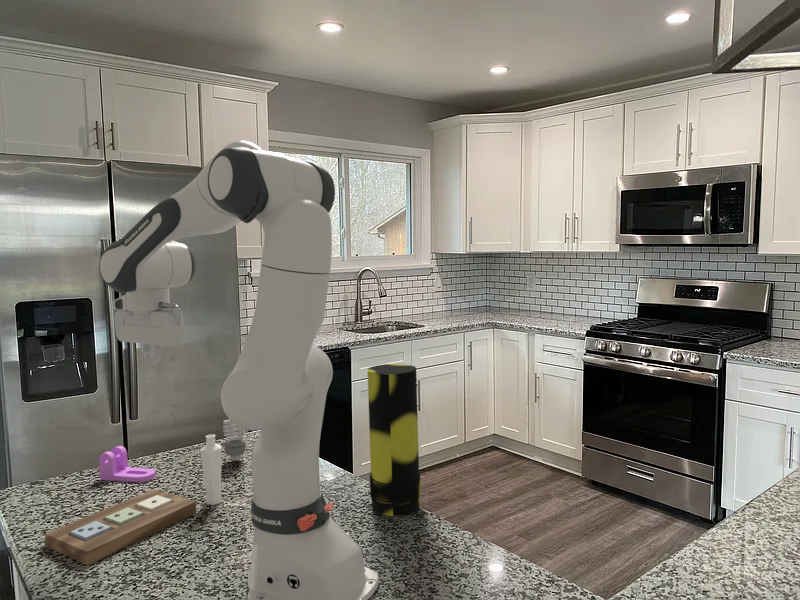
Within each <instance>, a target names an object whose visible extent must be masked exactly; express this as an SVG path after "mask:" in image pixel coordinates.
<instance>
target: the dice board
mask: <svg viewBox="0 0 800 600" xmlns="http://www.w3.org/2000/svg"><path fill="white" fill-rule="evenodd" d="M156 495H158V496H162V497H165V498H168V499H171V500H172V503H171V504H168V505H166V506H164V507H162V508H159V509H157V510H155V511H153V512H149V511H146V510H143V509H140V508H137V503H140V502H142V501H144V500H147V499H149V498H151V497H154V496H156ZM125 508H131V509H134V510H137V511H140V512H143V516H141V517H139V518H137V519H135V520H132V521H130V522H128V523H126V524H123V525H121V526H118V525H115V524H112V523H110V522H107V521H106V520H105V517H106V516H109V515H111V514H113V513H116V512H118V511H121V510H123V509H125ZM196 513H197V503H196V501H195V500H191V499H189V498H186V497H182V496H178V495H175V494H173V493H169V492H166V491H161V490H159V489H156V488H153V489H151V490H148V491H146V492H143V493H141V494H139V495H136V496H134V497H131V498H129V499H127V500H124V501H122V502H119V503H117V504H114V505H112V506H109V507H107V508H105V509H101V510H100V511H96V512H95V513H93V514H90V515H88V516H85V517H82V518H80V519H77V520H75V521H72V522H71V523H67V524H66V525H64V526H61V527H58V528H57V529H54V530H51V531H49V532H46V533H44V536H45V537H44V538H45V547H47V548H49V549H51V550H53V551H54V552H55V551H56V552H57V553H60V554H63V555H64V556H67V557H68V558H71V559H72V560H76V561H78V562H80V563H82V564H85V565H87V566H89V565H91V564H94V563H95V562H97V561H99V560H102V559H103V558H105V557H108V556H110V555H112V554H114V553H116V552H118V551H120V550H122V549H124V548H126V547H129V546H131V545H132V544H135V543H136V542H139V541H141V540H143V539H146V538H148V537H149V536H151V535H153V534H155V533H157V532H159V531H162V530H163V529H166V528H168V527H170V526H171V525H174V524H176V523H178V522H180V521H183V520H184V519H187V518H188V517H191V516H192V515H195V514H196ZM95 521H97V522H100V523H102V524H105V525H108V526H110V527H111V530H110V531H108V532H105V533H103V534H101V535H99V536H97V537H94V538H92V539H90V540H88V541H85V542H84V541H82V540H80V539H77V538H75V537H72V536H71V531H73V530H76V529H78V528H80V527H83V526H85V525H87V524H90V523H92V522H95Z"/></svg>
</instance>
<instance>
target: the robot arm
mask: <svg viewBox="0 0 800 600" xmlns="http://www.w3.org/2000/svg"><path fill="white" fill-rule="evenodd" d="M333 179H334V178H333V177H332V175H331V174H330V172H329V171H328V170H326V169H325V168H324V167H322V166H321V165H318V164H316V163H314V162H310V161H303V160H301V159H297V158H294V157H291V156H286V155H285V154H283V153H279V152H273V151H268V150H263V149H262V148H261V147H260V146H258V145H257V144H255V143H253V142H250V141H246V140H235V141H232V142H230V143H228V144H227V145H226V146H224V147H223V148H221V150H219V151H218V152H217V153H216V154H215V155H213V157H212V158H211V159H210V160H209V161H208V162H207V163H206V164H205V165H204V167H203V168H202V169H201V170H200V171H199V173H198V174H197V176H195V178H193V180H192V181H190V182H189V183H188V184H187V185H186V186H184V187H183V188H182V189H180V190H179V191H177V192H175V193H174V194H173V195H171V196H169V197H167V198H165V199H164V200H161V201H160V202H159V203H157V204H156V205H155V206H154V207H152V208H151V209H150V210H149V211H148V212H147V213H146V214H144V216H143V217H142V218H141V219H140V220H139V221H138V222H137V223H136V224H135V225H134V226H133V227H132V228H131V229H129V230H128V231H126V233H125V234H124V236H123V237H121V238H120V239H118V240H115V241H113V242H111V243H110V244H109V245H108V246H107V247H106V248H105V249H104V251H103V252H102V254H101V255H100V258H99V264H98V266H99V267H98V269H99V270H98V271H99V274H100V275H99V276H100V278H101V279H102V281H103V282H104V283H105V284H106V285H107V286H108V287H110V289H112V290H113V291H115V292H117V293H119V294H123V295H121V296H120V297H118V298H116V299H114V300H113V302H112V308H113V310H115V313H114V328H115V335H116V338H117V340H118V341H119V342H125V343H131V344H133V343H134V344H139V348H140V350H141V352H142V355H143V356H144V363H145V364H147V365H148V364H149V365H159V364H160V362H161V358H160V357H161V353H162V351H163V349H164V347H172V348H173V347H178V346H183V345H185V344H186V342H187V340H188V339H187V330H186V325H185V324H186V323H185V320H184V319H185V317H184V315H183V313H182V310H181V308H179V306H178V305H177V303H175V302H171V300H170V299H171V297H170V288H178V287H179V288H180V287H182V286H186V285H188V284H189V283H190V282H191V281H192V280H193V278H194V276H195V273H196V267H197V265H196V258H195V255H194V252H193V251H192V250H191V248H190V247H189V246H188V245H186V244H185V243H181V242H178V241H176V240H179V239H184V238H190V237H197V236H205V235H208V236H209V235H215V234H216V235H217V234H220V233H221V234H222V233H225V232H227V231H229V230H230V229H232V228H234V227H235V226H237V225H238V224H239V223H241V222H243V223H245V224H249V223H251V222H252V221H253V220H256V221H258V223H259V224H260V226H261V228H262V229H263V233H264V234H263V235H264V241H263V249H262V255H261V261H260V263H261V264H260V271H259V278H258V287H257V295H256V302H255V308H254V312H253V317H252V321H251V324H250V326H249V329H248V332H247V335H246V338H245V341H244V344H243V346H242V349H241V351H240V353H239V357H238V359H237V362H236V364H235V365H234V367H233V369H232V371H231V373H229V375H228V376H227V377H226V379H225V380H224V382H223V384H222V387H221V393H220V402H221V406H222V409H223V412H224V414H225V416H226V417H227V418H228V420H230V421H231V422H232V423H231V424H235V425H236V426H238V427H240V428H242V429H245V430H246V431H259V434H258V438H257V441H256V442H255V445H254V447H253V449H252V453H251V458H250V459H251V474H252V475H251V478H252V479H251V480H252V495H253V497H252V498H251V501H250V505H251V506H250V517H251V523H252V526H253V539H252V540H253V541H252V549H251V562H250V569H249V574H248V577H247V587H248V593H247V600H369V599H370V598H371V597H372V596H373V594H374V593H376V591H377V589H378V587H379V584H380V578H379V577H380V576H379V573H378V572H376V571H375V570H372V569H370V568H368V567H366V566H365V562H364V556H363V552H362V549H361V547H360V545H359V544H358V543H357V542H356V541H355V540H353V538H352V536H351V534H349V533H348V532H345V531H344V529H343V528H342V527H341V526H339V524H338V523H337V522H335V521H334V519H333V518H331V516H330V514H331V513H330V512H331V510H333V509H334V507H335V506H333V505H334V501H331V502H329V503H327V502H326V499H325V496H324V494H323V492H322V490H321V485H320V484H321V483H320V481H321V480H320V442H321V441H320V440H321V433H322V427H323V421H324V413H325V407H326V400H327V394H328V390H329V387H330V385H331V383H332V380H333V376H334V369H333V368H334V367H333V365H332V362H331V359H330V357H329V356H328V354H326V352H324V351H323V350H322V349H321V348H320V347H318V346H314V345H313V344H314V341H315V339H316V335H317V334H318V332H319V329H320V328H321V326H322V325H323V322H324V320H325V316H326V315H325V314H326V306H327V300H328V290H329V283H330V282H329V281H330V274H331V266H332V265H331V264H332V256H333V255H332V253H333V252H332V251H333V235H332V232H333V231H332V219H331V215H330V214H329V213H330V212H331V210H332V208H333V206H334V204H335V203H334V202H335V196H336V188H335V182H334V180H333ZM238 427H237V428H238Z"/></svg>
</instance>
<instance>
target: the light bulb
mask: <svg viewBox="0 0 800 600" xmlns="http://www.w3.org/2000/svg"><path fill="white" fill-rule="evenodd" d="M222 424H223V425H222V428H223V429H222V432H223V433H224V434H223V436H224V437H227V438H228V439H227V441H225V442H224V453H225V454H226V455H227V456H229V457H230V459H231V461H233V462H238V461H239V460H240V459H241V455H242V454H244V453H245V452H246V441H245V439H244V438H243V437H244V436H245V434H246V431H245V429H242V428H240V427H238V426H236V425H235V424H234V423H232V422H231V421H230V420H229V419H225V420H223V423H222Z"/></svg>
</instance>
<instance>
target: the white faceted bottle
mask: <svg viewBox="0 0 800 600" xmlns="http://www.w3.org/2000/svg"><path fill="white" fill-rule="evenodd" d="M205 440H206V442H205V443H206V445H204V446H203V447H201V448H200V449H199V451H200V452H199V453H200V458H201V466H202V473H203V475H202V476H203V480H204V487H205V495H206V497H205V501H204V504H207V505H211V506H214V505H217V504H221V503H223V502H224V501H223V497H222V446H221V444H218V443H216V434H207V435H205Z"/></svg>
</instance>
